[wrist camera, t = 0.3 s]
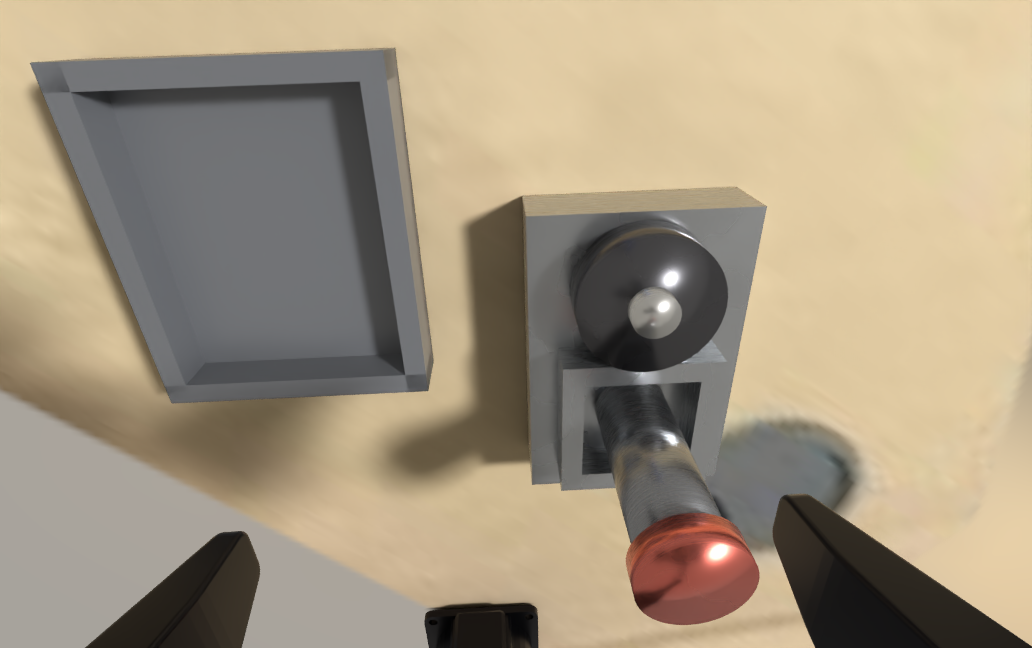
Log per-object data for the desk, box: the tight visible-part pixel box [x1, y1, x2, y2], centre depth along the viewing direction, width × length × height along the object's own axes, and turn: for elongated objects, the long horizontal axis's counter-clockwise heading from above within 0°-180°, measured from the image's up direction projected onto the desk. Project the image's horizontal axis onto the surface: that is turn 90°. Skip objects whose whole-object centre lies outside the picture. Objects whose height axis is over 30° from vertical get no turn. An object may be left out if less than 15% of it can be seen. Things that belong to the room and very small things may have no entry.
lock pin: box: [595, 384, 759, 625], centre depth 18 cm, size 3×3×8 cm
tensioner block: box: [522, 187, 767, 491], centre depth 21 cm, size 12×8×5 cm, turn 2°
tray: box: [30, 48, 433, 403], centre depth 19 cm, size 12×10×2 cm
